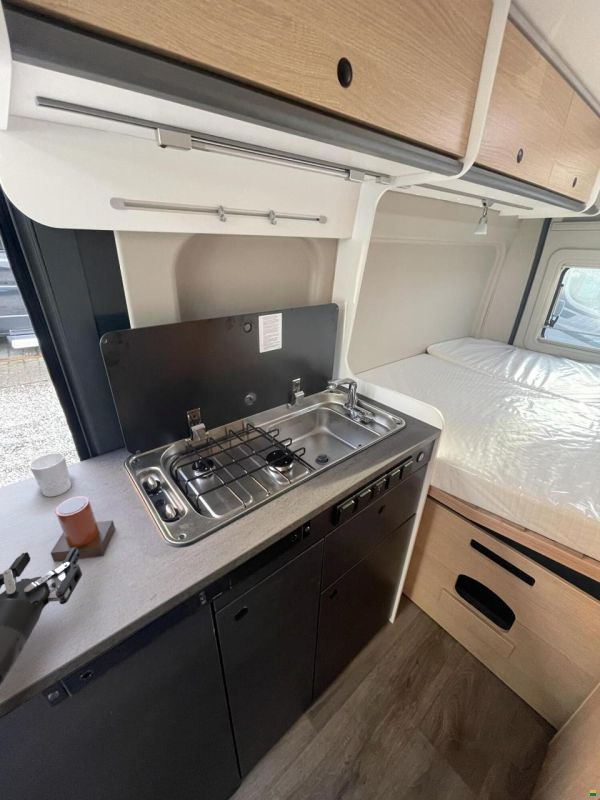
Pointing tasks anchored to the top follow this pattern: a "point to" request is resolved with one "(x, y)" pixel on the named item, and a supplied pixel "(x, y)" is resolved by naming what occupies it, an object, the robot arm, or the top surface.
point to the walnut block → (89, 549)
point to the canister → (77, 521)
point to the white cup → (51, 474)
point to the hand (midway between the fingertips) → (51, 552)
